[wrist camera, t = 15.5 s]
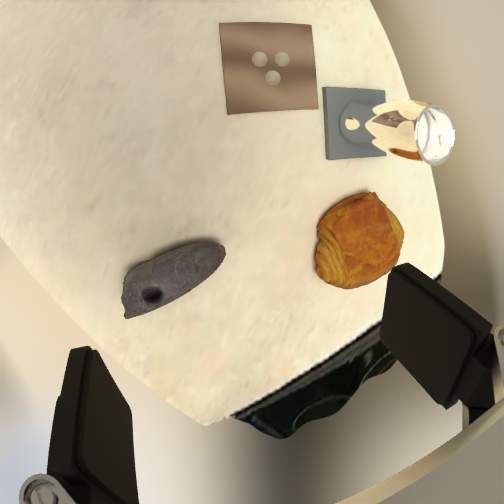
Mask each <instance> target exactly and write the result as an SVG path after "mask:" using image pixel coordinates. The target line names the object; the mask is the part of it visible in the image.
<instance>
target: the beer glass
mask: <svg viewBox="0 0 504 504" xmlns="http://www.w3.org/2000/svg"><path fill="white" fill-rule="evenodd" d="M339 124H340V130H341V132H342V134H343V136H344V137H345V139H346V140H348V141H349V142H351V143H353V144H358V145H362V144H371V145H373V146H375V147H377V148H379V149H381V150H383V151H385V152H387V153H388V154H391V155H393V156H395V157H398V158H401V159H404V160H408V161H412V162H417V163H423V164H429V165H432V166H438V165H440V164H442V163H444V162H445V161H446V160H447V159H448V158H449V156H450V154H451V152H452V150H453V147H454V142H455V129H454V124H453V121H452V118H451V116H450V114H449V113H448V111H447V110H446V109H445V108H444V107H443V106H441V105H438V104H432V103H427V102H421V101H414V100H396V101H390V102H385V103H381V104H377V105H368V104H365V103H361V102H353V103H350V104H348V105H347V106H346V107H345V108H344V109H343V111H342V113H341V115H340V120H339Z"/></svg>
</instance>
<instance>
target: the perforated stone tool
mask: <svg viewBox="0 0 504 504" xmlns="http://www.w3.org/2000/svg"><path fill="white" fill-rule="evenodd" d="M225 255H226V252H225V248H224V246H222V245H221V244H218V243H213V242H202V243H195V244H190V245H186V246H183V247H180V248H177V249H175V250H172V251H170V252H167V253H165V254H163V255H160V256H158V257H156V258H154V259H152V260H151V261H149V262H145V263H143V264H140V265H139V266H137V267H135V268H133V269H132V270H130V271H129V272H128V273H127V274H126V276H125V278H124V282H123V284H124V286H123V294H122V297H121V300H122V304H123V305H124V308H125V313H124V317H125V319H129V318H133V317H136V316H140V315H142V314H145V313H148V312H150V311H153V310H155V309H157V308H160V307H162V306H164V305H166V304H168V303H170V302H172V301H174V300H176V299H178V298H179V297H181V296H183V295H184V294H186V293H187V292H189V291H191V290H192V289H193V288H195V287H196V286H198V285H199V284H200V283H202V282H203V281H204V280H206V279H207V278H208V277H209V276H210V275H211V274H213V273H214V272H215V271H216V270H217V268H218V267H219V266H220V264H221V263H222V262H223V260H224V257H225Z"/></svg>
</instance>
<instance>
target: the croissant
mask: <svg viewBox="0 0 504 504" xmlns="http://www.w3.org/2000/svg"><path fill="white" fill-rule="evenodd" d="M317 228H318V233H317V235H318V238H319V240H320V243H319V244H318V246H317V250H318V251H317V252H316V263H317V264H318V267H317V273H318V276H319V277H320V278H321V279H323V280H324V281H325V282H326V283H328V284H331V285H333V286H336V287H340V288H343V289H353V288H358V287H360V286H364V285H367V284H369V283H371V282H373V281H375V280H377V279H378V278H380V277H381V276H383V275H385V274H387V273H388V272H389V271H390V270H391V269H392V268H393V267H394V266H395V265H396V263H397V261H398V258H399V256H400V249H401V247H402V244H403V239H404V230H403V228H402V226H401V224H400V222H399V220H398V219H397V217H396V216H395V215H394V214H393V213H392V212H391V211H390V210H389V209H388V208H387V207H386V205H385V204H384V203H383V202H382V201H381V200H380V199H379V198H378V196H377V195H376V193H375V192H373V193H371V192H369V193H366V194H359V195H356V196H353V197H351V198H348V199H346V200H344V201H342V202H340V203H339V204H338V205H336V206H335V207H334V208H332V209H331V210H330V211H329V212H328V213H327V214H326V216H325V217H324V218H323V219H322V221H321V222H320V223H319V225H318V227H317Z"/></svg>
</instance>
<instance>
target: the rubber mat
mask: <svg viewBox="0 0 504 504" xmlns="http://www.w3.org/2000/svg"><path fill="white" fill-rule="evenodd" d="M322 90H323V105H324V123H325V145H326V159H328V160H336V159H349V158H363V157H379V156H386V152H385V151H383V150H381V149H379V148H377V147H375V146H373V145H371V144H362V145H358V144H353V143H351V142H349V141H348V140H346V139H345V137H344V136H343V134H342V132H341V130H340V124H339V120H340V115H341V113H342V111H343V109H344V108H345V107H346V106H347V105H348V104H350V103H353V102H361V103H365V104H368V105H377V104H381V103H385V91H384V90H372V89H358V88H338V87H322Z"/></svg>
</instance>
